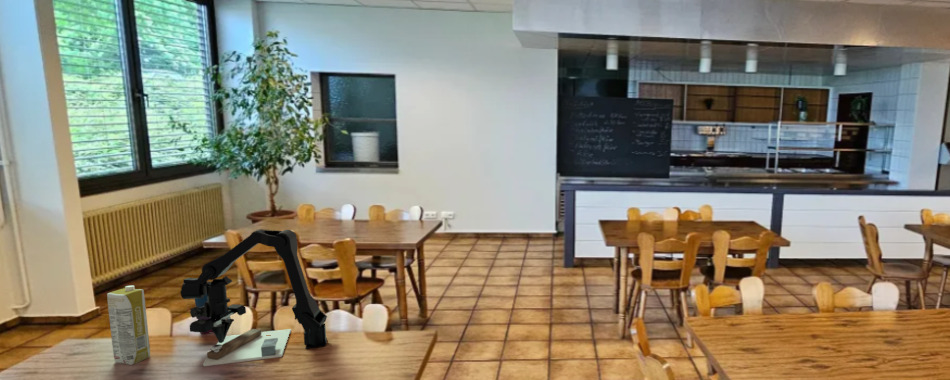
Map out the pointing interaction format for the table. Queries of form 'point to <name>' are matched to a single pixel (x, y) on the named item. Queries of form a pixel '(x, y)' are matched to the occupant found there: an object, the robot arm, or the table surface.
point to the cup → (200, 303)
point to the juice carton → (128, 325)
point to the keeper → (269, 347)
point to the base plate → (250, 348)
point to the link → (234, 343)
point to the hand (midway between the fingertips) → (221, 342)
